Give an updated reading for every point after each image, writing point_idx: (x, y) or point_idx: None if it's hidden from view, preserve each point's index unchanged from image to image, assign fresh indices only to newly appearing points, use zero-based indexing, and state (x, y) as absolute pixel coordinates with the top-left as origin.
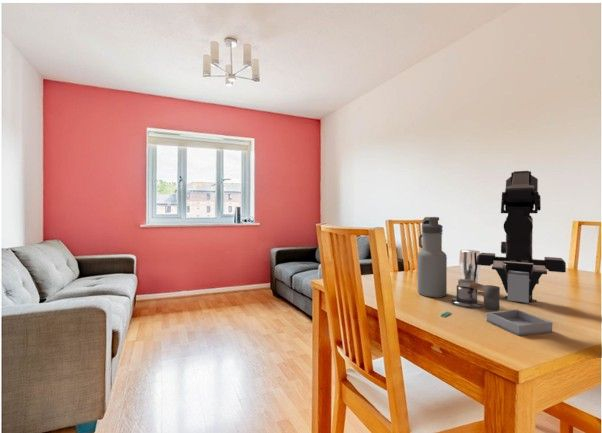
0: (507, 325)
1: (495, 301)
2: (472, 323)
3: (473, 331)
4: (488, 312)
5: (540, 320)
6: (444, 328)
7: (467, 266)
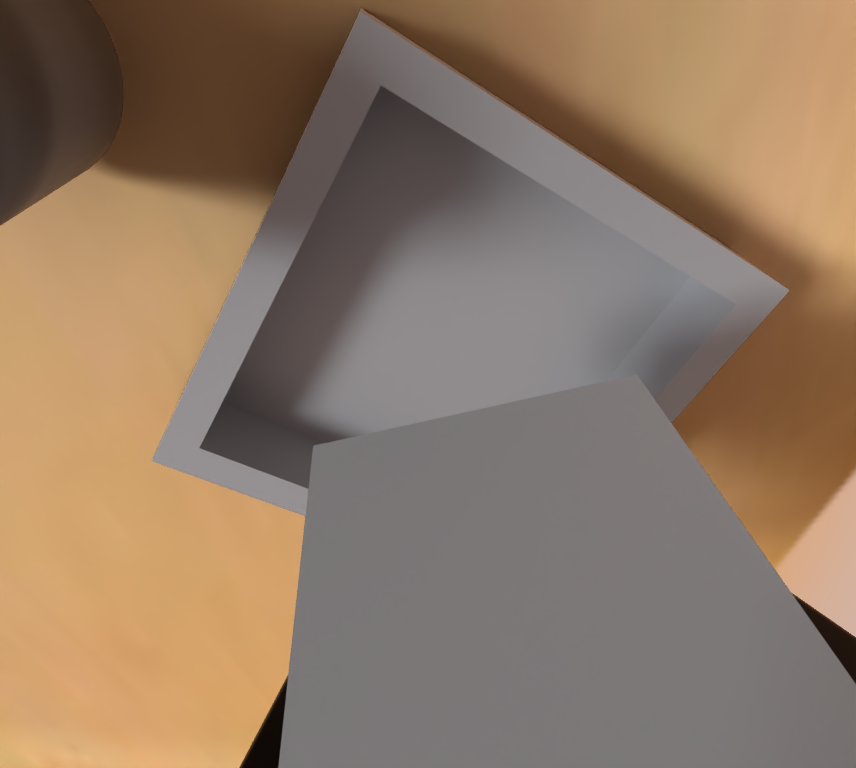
0: None
1: (45, 189)
2: (132, 529)
3: (239, 651)
4: (164, 448)
5: (671, 263)
6: (83, 723)
7: None
